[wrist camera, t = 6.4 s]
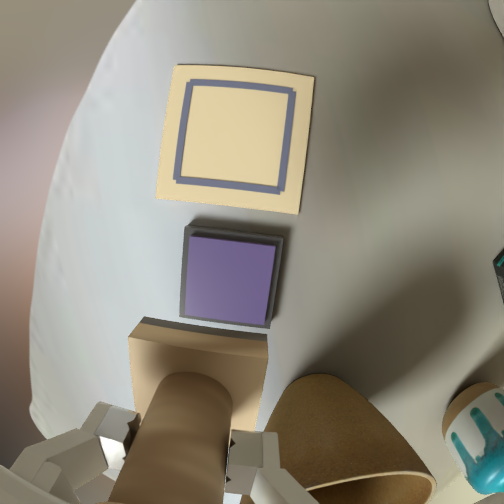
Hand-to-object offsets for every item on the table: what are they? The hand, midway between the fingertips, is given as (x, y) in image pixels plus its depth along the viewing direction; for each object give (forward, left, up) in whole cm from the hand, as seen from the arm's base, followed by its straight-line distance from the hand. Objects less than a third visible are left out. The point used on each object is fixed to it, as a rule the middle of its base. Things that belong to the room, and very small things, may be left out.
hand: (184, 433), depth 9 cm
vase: (-33, +15, -18) cm, 41 cm away
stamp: (0, 0, -4) cm, 4 cm away
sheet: (+1, -12, -18) cm, 22 cm away
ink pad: (0, 0, -18) cm, 18 cm away
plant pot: (-10, +13, -18) cm, 25 cm away
